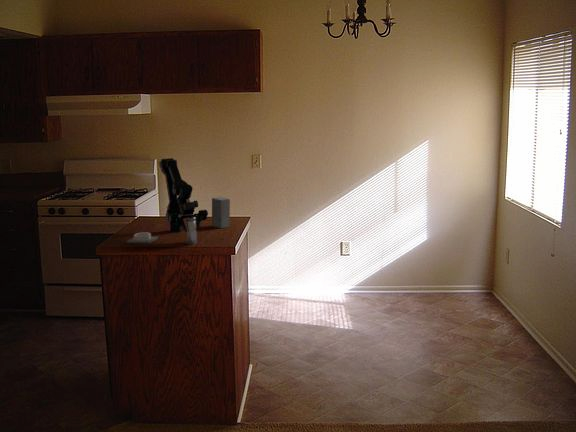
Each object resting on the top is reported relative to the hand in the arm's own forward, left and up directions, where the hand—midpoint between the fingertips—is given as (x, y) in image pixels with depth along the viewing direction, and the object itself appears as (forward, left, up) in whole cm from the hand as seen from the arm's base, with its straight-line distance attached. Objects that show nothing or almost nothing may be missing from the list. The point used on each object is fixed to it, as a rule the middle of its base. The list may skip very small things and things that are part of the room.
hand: (192, 230), depth 308 cm
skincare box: (-39, +2, -7) cm, 40 cm away
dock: (-5, -29, -7) cm, 30 cm away
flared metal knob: (-1, -1, -7) cm, 7 cm away
